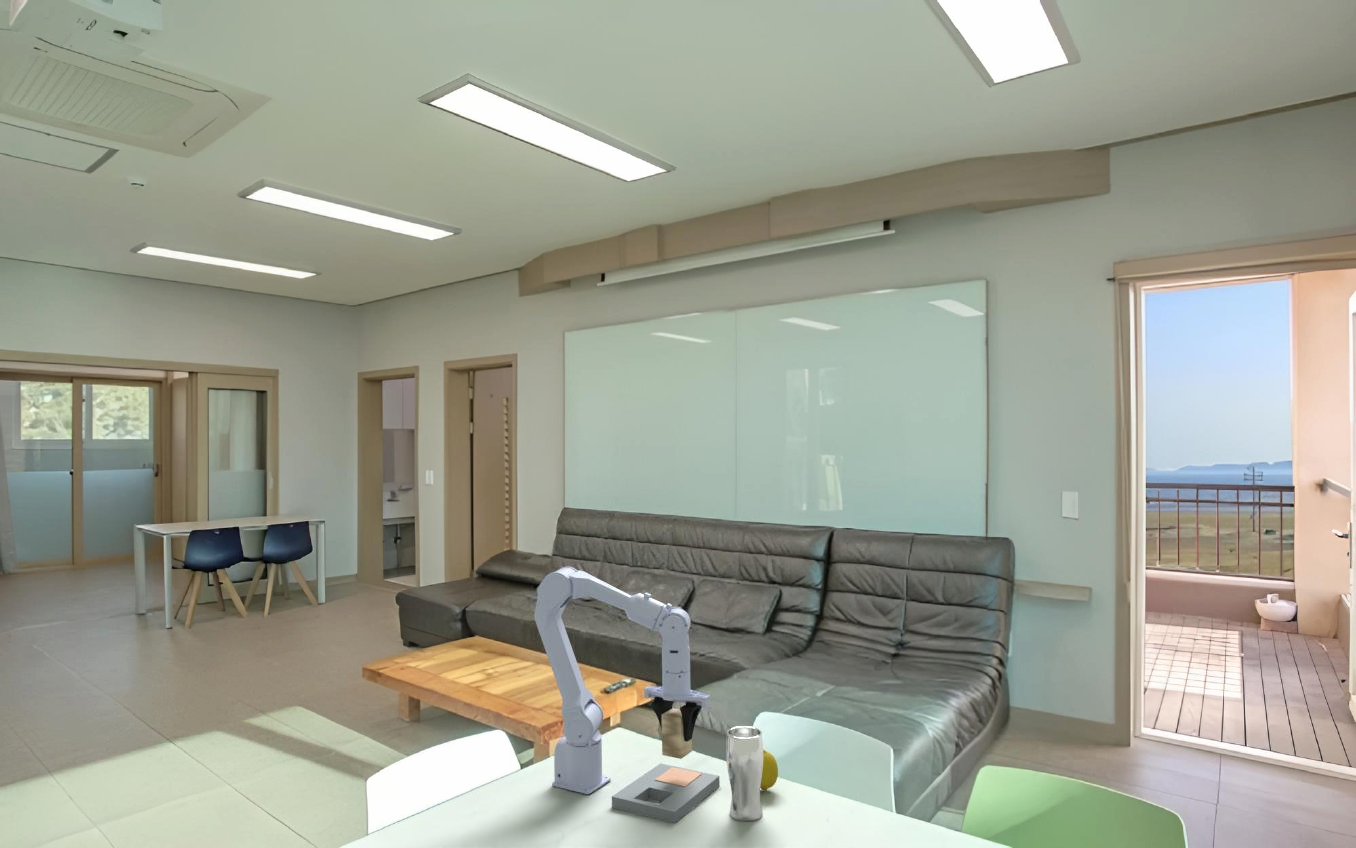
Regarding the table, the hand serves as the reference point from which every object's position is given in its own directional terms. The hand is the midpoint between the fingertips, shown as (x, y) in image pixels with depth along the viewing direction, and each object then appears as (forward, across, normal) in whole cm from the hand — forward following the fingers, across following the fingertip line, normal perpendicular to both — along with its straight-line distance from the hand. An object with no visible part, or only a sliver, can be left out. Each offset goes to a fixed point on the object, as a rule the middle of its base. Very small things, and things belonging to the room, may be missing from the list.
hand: (677, 737), depth 153 cm
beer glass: (+10, +17, -4) cm, 20 cm away
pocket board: (+10, 0, -4) cm, 11 cm away
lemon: (+10, +16, +7) cm, 20 cm away
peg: (+3, 0, 0) cm, 3 cm away
